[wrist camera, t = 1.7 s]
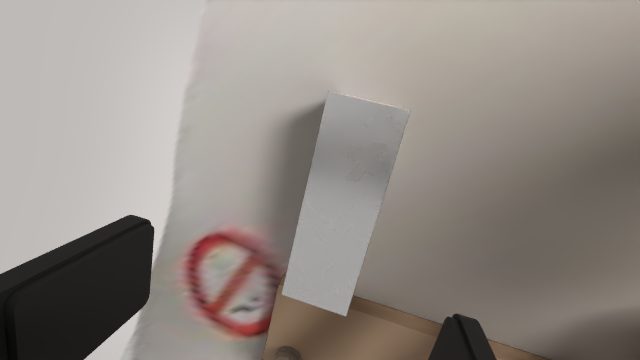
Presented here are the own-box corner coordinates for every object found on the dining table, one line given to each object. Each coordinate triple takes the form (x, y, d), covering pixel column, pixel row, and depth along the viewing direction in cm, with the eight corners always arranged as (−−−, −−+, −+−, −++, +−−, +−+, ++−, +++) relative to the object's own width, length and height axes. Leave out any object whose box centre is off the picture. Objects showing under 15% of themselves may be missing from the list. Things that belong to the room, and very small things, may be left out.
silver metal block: (403, 108, 19) (410, 111, 14) (353, 270, 22) (346, 316, 17) (341, 93, 19) (328, 91, 14) (302, 253, 23) (281, 294, 18)
